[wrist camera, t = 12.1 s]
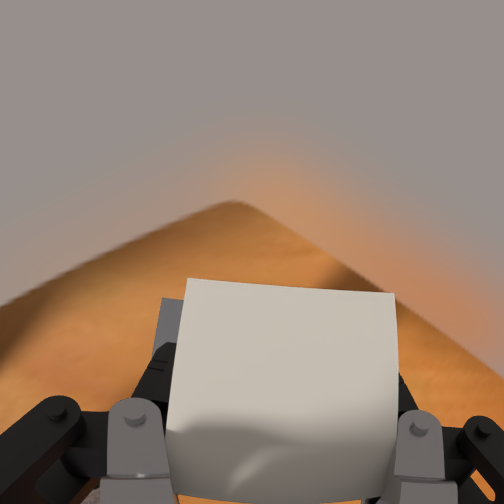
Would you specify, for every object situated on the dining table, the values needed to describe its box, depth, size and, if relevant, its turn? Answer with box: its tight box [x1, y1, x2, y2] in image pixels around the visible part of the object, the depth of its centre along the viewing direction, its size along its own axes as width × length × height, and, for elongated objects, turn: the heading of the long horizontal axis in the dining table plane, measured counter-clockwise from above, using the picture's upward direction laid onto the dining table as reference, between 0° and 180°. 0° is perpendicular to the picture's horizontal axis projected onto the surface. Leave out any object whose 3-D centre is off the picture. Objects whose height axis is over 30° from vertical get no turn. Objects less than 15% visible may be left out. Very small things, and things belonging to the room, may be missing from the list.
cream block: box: [165, 278, 398, 504], centre depth 10 cm, size 5×5×10 cm
